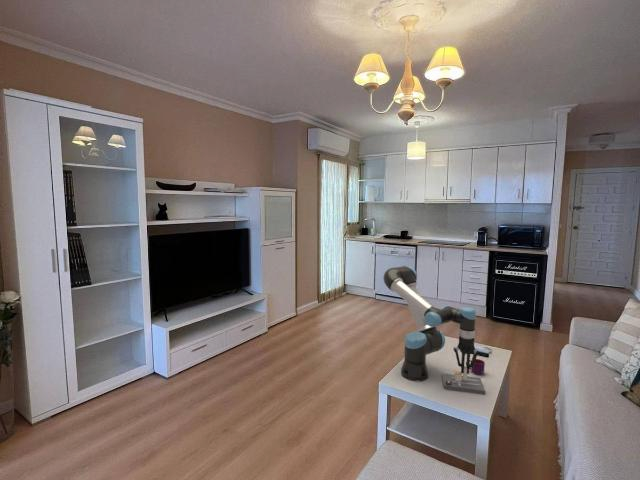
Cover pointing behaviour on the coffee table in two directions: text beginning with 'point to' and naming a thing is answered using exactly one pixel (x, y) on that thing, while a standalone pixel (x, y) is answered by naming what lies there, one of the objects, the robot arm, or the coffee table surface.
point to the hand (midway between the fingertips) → (464, 378)
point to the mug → (478, 367)
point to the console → (463, 384)
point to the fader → (458, 376)
